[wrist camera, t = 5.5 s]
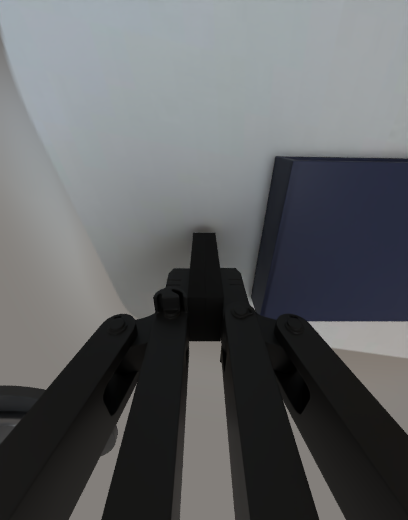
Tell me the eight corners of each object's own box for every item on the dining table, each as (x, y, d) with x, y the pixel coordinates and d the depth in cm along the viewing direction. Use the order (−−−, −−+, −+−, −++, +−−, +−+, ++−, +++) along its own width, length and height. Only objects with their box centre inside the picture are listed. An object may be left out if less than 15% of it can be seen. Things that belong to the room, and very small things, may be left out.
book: (251, 297, 19) (258, 321, 17) (275, 156, 13) (293, 160, 11) (415, 297, 20) (447, 321, 17) (513, 160, 14) (587, 165, 11)
